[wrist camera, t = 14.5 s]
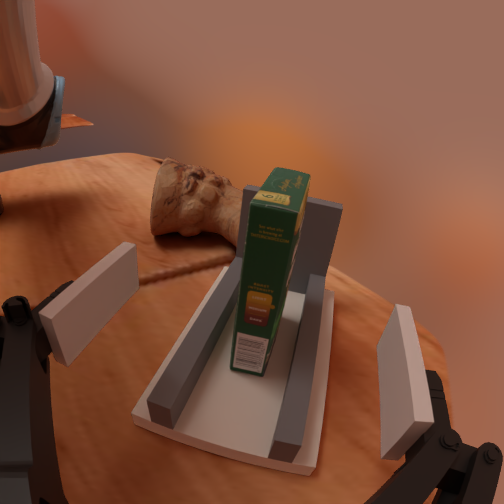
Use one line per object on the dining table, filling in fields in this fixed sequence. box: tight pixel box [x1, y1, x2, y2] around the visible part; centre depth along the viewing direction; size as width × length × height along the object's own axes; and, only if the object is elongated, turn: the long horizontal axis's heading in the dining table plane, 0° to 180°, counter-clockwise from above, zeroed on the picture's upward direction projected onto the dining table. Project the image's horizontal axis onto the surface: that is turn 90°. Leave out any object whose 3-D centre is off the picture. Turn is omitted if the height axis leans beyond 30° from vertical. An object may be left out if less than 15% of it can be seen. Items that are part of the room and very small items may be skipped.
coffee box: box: [229, 167, 311, 377], centre depth 22 cm, size 8×3×13 cm, turn 166°
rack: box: [131, 185, 343, 476], centre depth 24 cm, size 12×20×11 cm, turn 166°
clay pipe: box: [150, 157, 243, 248], centre depth 41 cm, size 19×11×15 cm
